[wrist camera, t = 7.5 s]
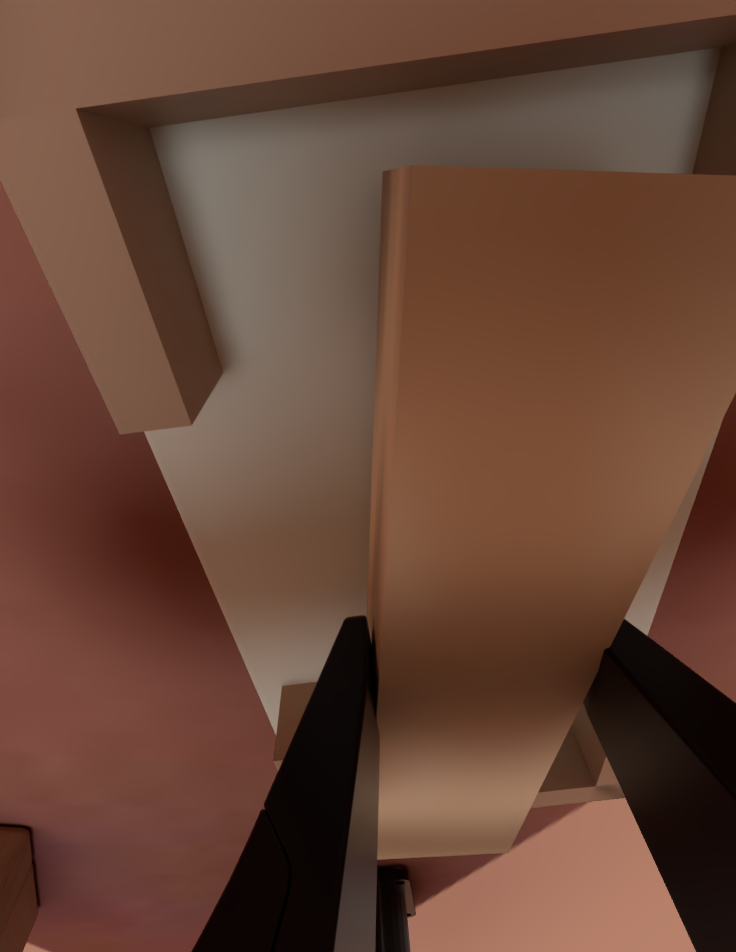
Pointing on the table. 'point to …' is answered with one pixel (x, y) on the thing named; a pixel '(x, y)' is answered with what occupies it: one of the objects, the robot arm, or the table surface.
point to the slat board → (311, 246)
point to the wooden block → (16, 889)
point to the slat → (526, 462)
